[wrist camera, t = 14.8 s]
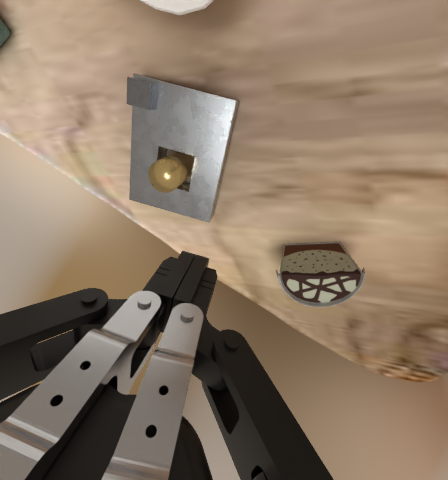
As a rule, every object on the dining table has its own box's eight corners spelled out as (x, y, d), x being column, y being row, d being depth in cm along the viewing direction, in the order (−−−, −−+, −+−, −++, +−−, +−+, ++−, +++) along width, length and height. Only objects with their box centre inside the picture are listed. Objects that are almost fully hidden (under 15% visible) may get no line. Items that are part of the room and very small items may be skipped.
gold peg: (170, 147, 40) (149, 156, 33) (196, 155, 39) (180, 165, 32) (167, 174, 42) (147, 187, 35) (192, 181, 42) (176, 196, 35)
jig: (145, 76, 35) (123, 71, 30) (239, 101, 35) (233, 100, 30) (139, 193, 44) (121, 204, 39) (213, 214, 44) (205, 228, 39)
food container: (276, 272, 47) (277, 309, 39) (275, 244, 45) (275, 277, 36) (346, 271, 45) (364, 310, 36) (349, 241, 42) (369, 276, 33)
